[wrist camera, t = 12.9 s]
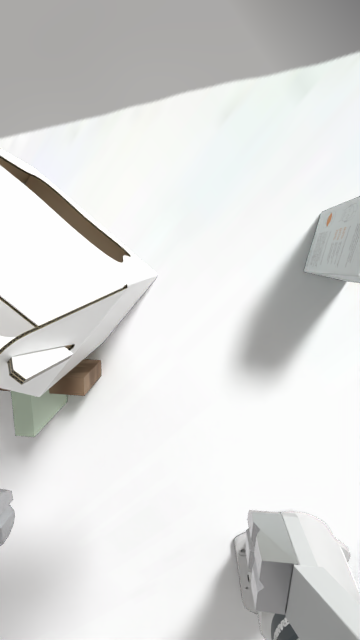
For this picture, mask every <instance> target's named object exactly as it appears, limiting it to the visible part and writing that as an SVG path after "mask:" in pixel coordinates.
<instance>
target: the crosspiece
mask: <svg viewBox="0 0 360 640" xmlns="http://www.w3.org/2000/svg"><path fill="white" fill-rule="evenodd" d="M11 397H12V406H13V416H14V426H15V436H27V437H35V436H36V435H37V434H38V433H39V432H40V431H41V430H42V428H43V427H44V426H45V425H46V424H47V423H48V422H49V421H50V420H51V419H52V418H53V417H54V415H55V414H56V413H57V412H58V411H59V410H60V409H61V408H62V407H63V406H64V405H65V404H66V403H67V395H65V394H50V393H49V389H48V390H47V391H46V392H45V393H44V394H42V395H41V396H40V397H35V396H32V395H28V394H24V393H19V392H15V391H11Z"/></svg>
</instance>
